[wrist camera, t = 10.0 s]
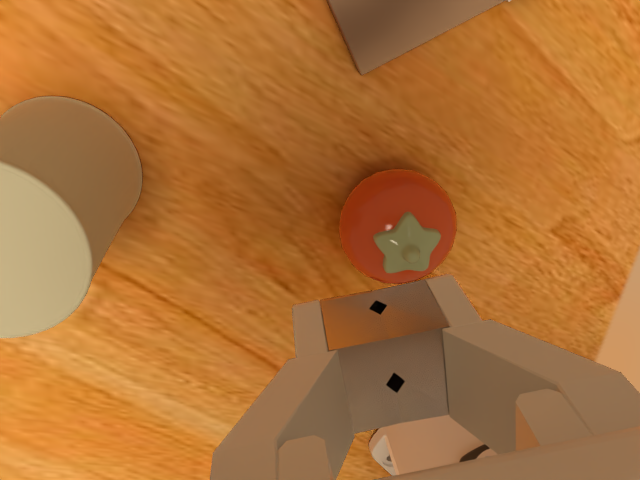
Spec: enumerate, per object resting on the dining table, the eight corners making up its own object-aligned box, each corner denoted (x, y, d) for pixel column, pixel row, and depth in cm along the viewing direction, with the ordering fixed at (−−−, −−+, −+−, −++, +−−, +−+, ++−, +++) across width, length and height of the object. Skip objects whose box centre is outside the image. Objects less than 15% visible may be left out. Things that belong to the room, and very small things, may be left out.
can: (26, 63, 31) (-98, 111, 20) (169, 151, 34) (127, 234, 23) (-36, 187, 34) (-174, 287, 23) (101, 258, 37) (37, 375, 26)
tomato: (332, 255, 38) (348, 319, 31) (331, 155, 35) (349, 201, 28) (433, 248, 39) (471, 310, 32) (441, 149, 36) (486, 194, 29)
